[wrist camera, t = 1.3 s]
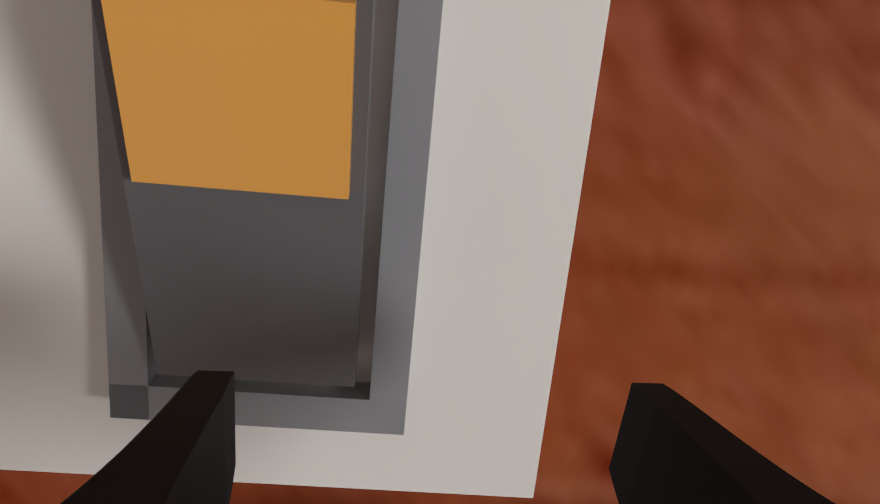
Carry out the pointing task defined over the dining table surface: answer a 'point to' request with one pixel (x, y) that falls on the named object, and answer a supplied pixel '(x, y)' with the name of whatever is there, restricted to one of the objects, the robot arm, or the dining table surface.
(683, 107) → the dining table surface
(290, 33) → the breaker rocker
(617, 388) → the dining table surface
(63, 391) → the rocker switch base
